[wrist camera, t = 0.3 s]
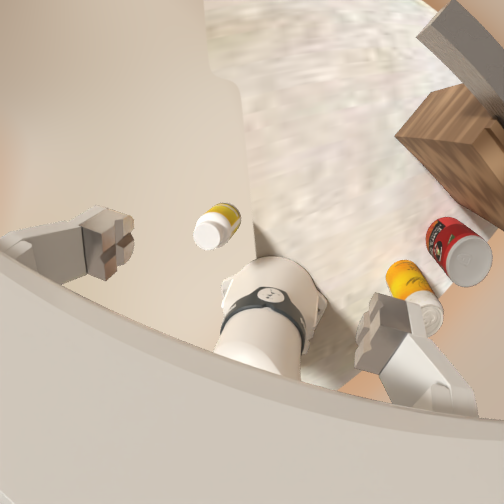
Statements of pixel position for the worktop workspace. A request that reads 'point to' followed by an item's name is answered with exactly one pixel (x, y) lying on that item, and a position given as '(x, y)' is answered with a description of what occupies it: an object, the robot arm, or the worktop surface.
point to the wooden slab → (460, 149)
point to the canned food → (459, 251)
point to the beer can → (415, 293)
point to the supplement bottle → (217, 226)
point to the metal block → (468, 55)
